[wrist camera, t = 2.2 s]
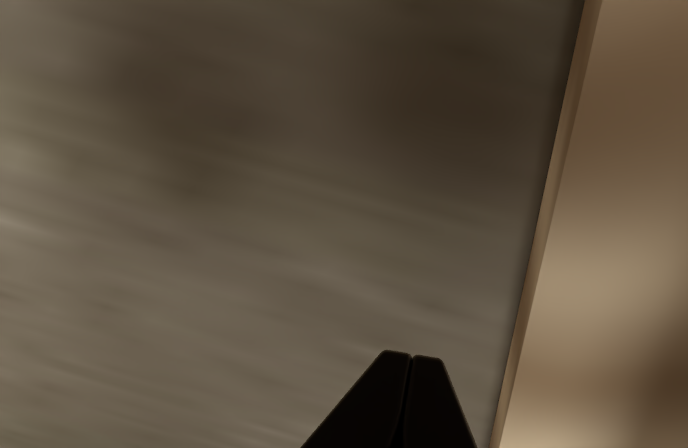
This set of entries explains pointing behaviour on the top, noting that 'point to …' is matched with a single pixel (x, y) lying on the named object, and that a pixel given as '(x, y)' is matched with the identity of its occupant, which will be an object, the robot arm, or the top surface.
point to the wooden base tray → (609, 247)
